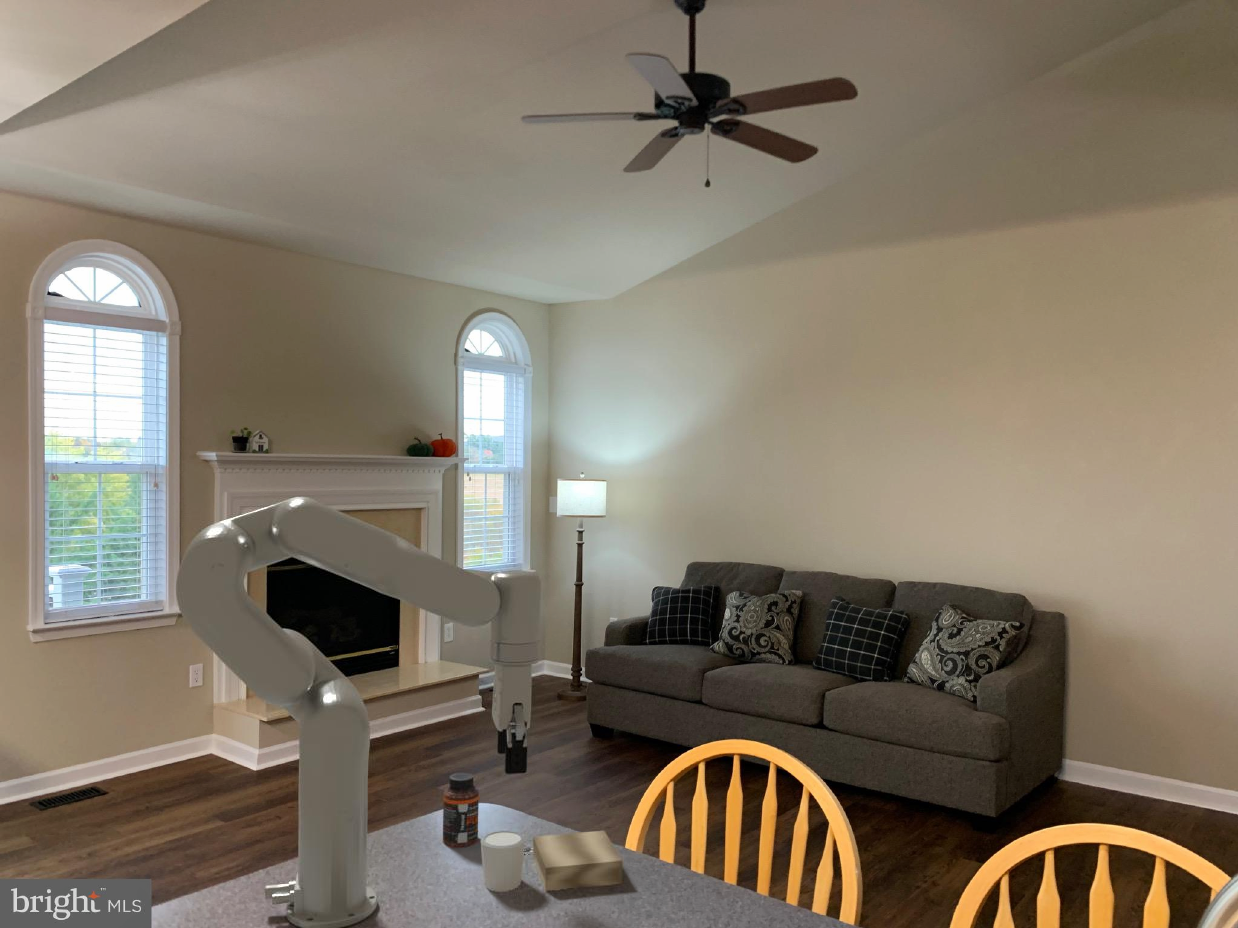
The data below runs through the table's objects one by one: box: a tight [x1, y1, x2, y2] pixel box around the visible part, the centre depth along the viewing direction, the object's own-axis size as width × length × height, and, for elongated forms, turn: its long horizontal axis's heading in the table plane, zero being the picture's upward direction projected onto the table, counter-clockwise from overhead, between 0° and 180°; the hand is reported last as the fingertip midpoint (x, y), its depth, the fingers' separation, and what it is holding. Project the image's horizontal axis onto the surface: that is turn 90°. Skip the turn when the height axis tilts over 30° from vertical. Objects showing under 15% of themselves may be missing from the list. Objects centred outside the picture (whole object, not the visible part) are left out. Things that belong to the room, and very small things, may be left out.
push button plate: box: [524, 845, 533, 856], centre depth 157 cm, size 6×4×1 cm, turn 104°
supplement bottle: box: [442, 772, 480, 848], centre depth 161 cm, size 6×6×11 cm
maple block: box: [532, 830, 623, 892], centre depth 150 cm, size 12×12×4 cm
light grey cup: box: [480, 830, 526, 893], centre depth 145 cm, size 7×7×7 cm
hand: (511, 762), depth 145 cm, fingers open, 9 cm apart
